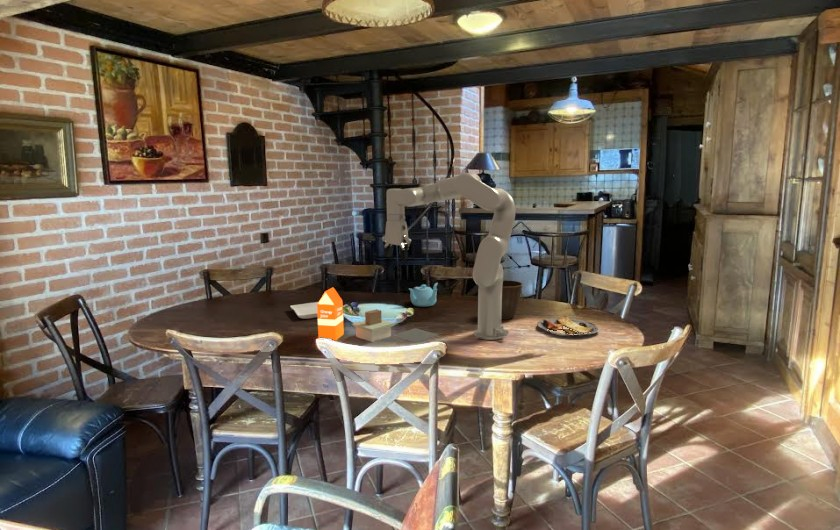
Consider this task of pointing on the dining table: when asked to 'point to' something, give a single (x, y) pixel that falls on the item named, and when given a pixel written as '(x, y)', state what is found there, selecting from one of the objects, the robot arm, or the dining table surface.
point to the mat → (415, 335)
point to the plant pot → (510, 298)
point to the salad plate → (306, 310)
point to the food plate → (567, 325)
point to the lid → (373, 321)
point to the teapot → (423, 295)
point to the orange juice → (330, 315)
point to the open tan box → (373, 334)
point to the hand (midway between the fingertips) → (396, 257)
